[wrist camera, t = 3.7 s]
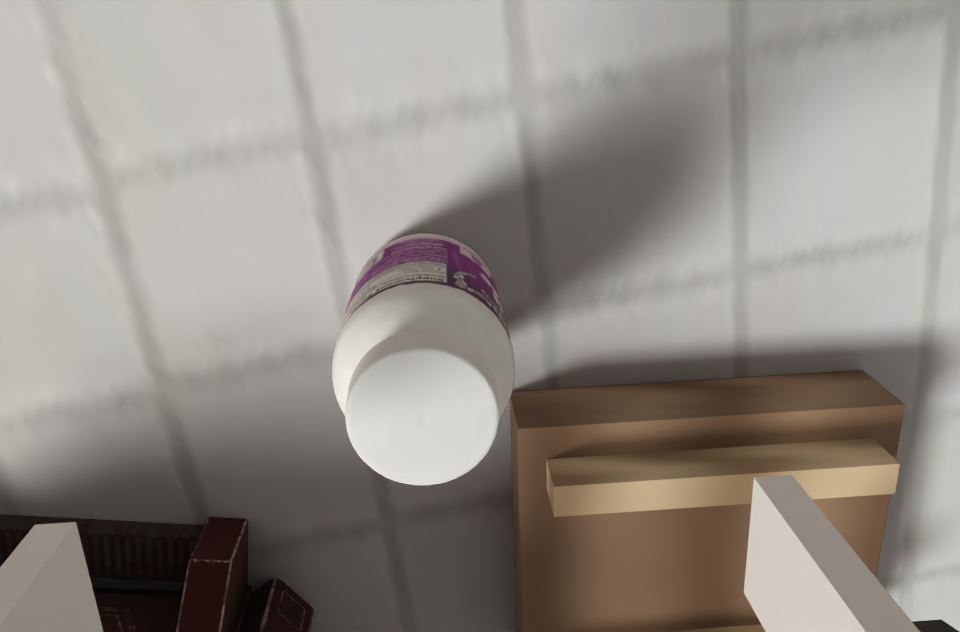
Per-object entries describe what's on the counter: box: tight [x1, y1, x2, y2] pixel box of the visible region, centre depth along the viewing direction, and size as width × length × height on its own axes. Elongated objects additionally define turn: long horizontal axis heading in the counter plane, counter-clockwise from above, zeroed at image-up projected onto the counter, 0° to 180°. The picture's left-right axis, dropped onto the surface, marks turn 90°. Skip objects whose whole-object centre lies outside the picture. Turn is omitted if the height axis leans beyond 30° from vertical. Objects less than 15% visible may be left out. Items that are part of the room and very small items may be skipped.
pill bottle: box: [332, 233, 515, 485], centre depth 25 cm, size 5×5×10 cm
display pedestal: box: [510, 370, 905, 632], centre depth 31 cm, size 14×12×5 cm
